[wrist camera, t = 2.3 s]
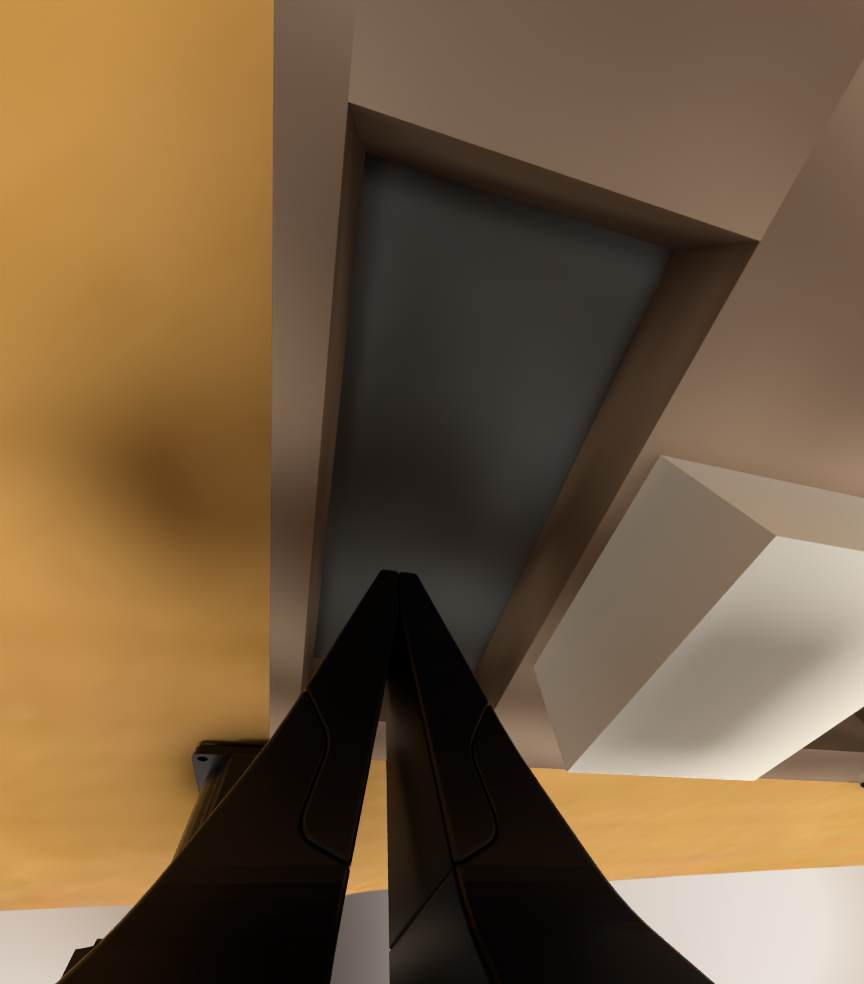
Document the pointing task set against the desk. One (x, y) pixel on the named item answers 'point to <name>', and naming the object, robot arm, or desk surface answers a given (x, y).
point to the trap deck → (549, 302)
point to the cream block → (711, 629)
